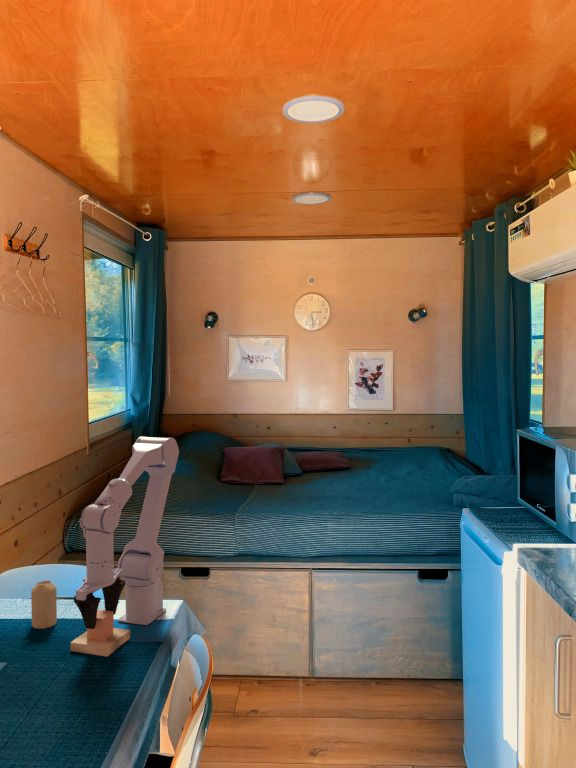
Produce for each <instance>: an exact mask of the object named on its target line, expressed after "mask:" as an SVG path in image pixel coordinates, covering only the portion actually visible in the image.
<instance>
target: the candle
mask: <svg viewBox="0 0 576 768" xmlns="http://www.w3.org/2000/svg"><path fill="white" fill-rule="evenodd" d="M30 591H31V592H30V593H31V599H30V601H31V602H30V603H31V627H32V628H33V629H38V630H41V629H48V628H52V627H53V626H55V625H56V624H57V621H58V615H57V614H58V613H57V612H58V611H57V610H58V609H57V607H58V605H57V585H55V584H54V583H53V582H52V581H51V580H43V581H38V582H37V583H36V584H35V585H34V586H33V587H32V588H31V590H30Z"/></svg>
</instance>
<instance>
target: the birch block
mask: <svg viewBox="0 0 576 768" xmlns="http://www.w3.org/2000/svg"><path fill="white" fill-rule="evenodd" d="M130 639H131V630H130V629H124V628H118V627H114V634H113V635H111V636H110V637H109V638H107V639H106V640H105V641H103V642H101V641H95V640H89V639H87V630H86V631H84V633H82V634H80V635H79V636H78V637H75V638H74V639H73V640H72V641H70V652H76V653H83V654H87V655H95V656H101V657H109V656H110V655H111V654H113V653H114V652H115V651H116V650H117V649H119V648H120V647H121V646H122V645H123V644H125V643H126V642H127V641H128V640H130Z"/></svg>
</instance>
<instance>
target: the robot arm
mask: <svg viewBox="0 0 576 768" xmlns="http://www.w3.org/2000/svg"><path fill="white" fill-rule="evenodd" d="M179 449H180V448H179V445H178V443H177V441H176V439H175V438H174V437H157V436H156V437H155V436H154V437H153V436H152V437H151V436H150V437H149V436H145V435H144V436H143V435H141V436H139V437H138V438H137V439H136V441H135V442H134V444H133V445H132V451H131V452H132V455H131V456H130V459H129V460H128V462H127V464H126V465H125V466H124V468H123V470H122V473H120V475H119V477H118V478H113V479H111V480H110V481H109V483H108V484H107V486H106V487H105V488H104V490H103V491H102V492H101V493H100V495H99V497H97V499H96V500H95V502H94V503H92V504H89V505H87V506H86V507H85V508H84V509H83V510H82V512H81V516H80V519H79V525H80V528H81V529H82V531H83V537H84V539H85V545H86V546H85V547H86V548H85V551H86V552H85V553H86V554H85V555H86V556H85V559H86V576H85V577H84V578H82V582H83V583H82V584H81V586H80V587H79V588H78V589H76V590H75V595H74V596H73V603H75V605H76V607H77V608H78V609H79V611H80V614H81V617H82V620H83V625H84V628H85V629H87V628H88V629H94V628H95V626H96V620H97V610H98V609H99V605H100V603H101V600H102V597H98V596H97V597H96V596H95V595H94V593H96V592H98V591H99V590H101V591H102V594H103V595H102V596H103V600H104V601H103V602H104V610H106V611H113V616H114V615H116V612H117V609H118V604H119V600H120V597H121V595H122V592H123V589H124V588H125V614H124V615H123V614H122V616H121V617H119V618H118V619H117V621H118V622H120V623H128V624H135V625H141V626H143V625H144V626H148V625H149V624H151V623H152V622H154V620H156V619H157V618H158V617H160V616H161V615H162V614H163V613H164V612H166V611H167V608H166V607H164V601H163V600H164V596H163V595H164V593H163V592H164V591H163V590H164V589H163V588H164V585H163V582H162V581H161V580H162V579H160V578H161V576H162V575H163V571H164V559H165V558H164V557H165V551H164V550H163V548H162V547H161V546H160V545H159V544H158V542H157V541H158V537H159V532H160V529H161V524H162V519H163V516H164V515H163V514H164V510H165V506H166V502H167V496H168V493H169V488H170V483H171V480H172V475H173V474H174V473H175V471H176V466H177V463H178V458H179V454H180V450H179ZM144 472H147V473H148V476H149V478H148V484H147V487H146V492H145V497H144V500H143V505H142V508H141V512H140V518H139V522H138V526H137V530H136V532H135V533H136V534H135V538H133V539H132V540H131V541H129V542H128V543H126V544H125V545H124V547H123V548H124V549H123V551H122V554H121V555H120V558H119V559H118V562H117V567H115V565H114V564H115V560H114V559H115V555H114V550H115V549H114V547H115V546H114V532H115V529H116V528H118V525H119V523H120V517H121V515H122V509H123V508H124V506H125V505H126V504H127V502H128V501H129V499H130V498H131V497H132V495H133V489H132V486H133V485H134V484H135V483H136V482H137V480H138V479H139V478H140V476H141V475H142V474H143V473H144ZM114 567H115V568H114Z"/></svg>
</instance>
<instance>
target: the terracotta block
mask: <svg viewBox="0 0 576 768" xmlns="http://www.w3.org/2000/svg"><path fill="white" fill-rule="evenodd" d="M114 628H115V627H114V615H113V611H106V610H105V609H103V610H102V609H99V608H98V610H97V620H96V626H95V628H94V629H88V628H86V631H87V639H89V640H95V641H101V642H103V641H105V640H106V639H107V638H109V637H110V636H111V635H113V634H114Z"/></svg>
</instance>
